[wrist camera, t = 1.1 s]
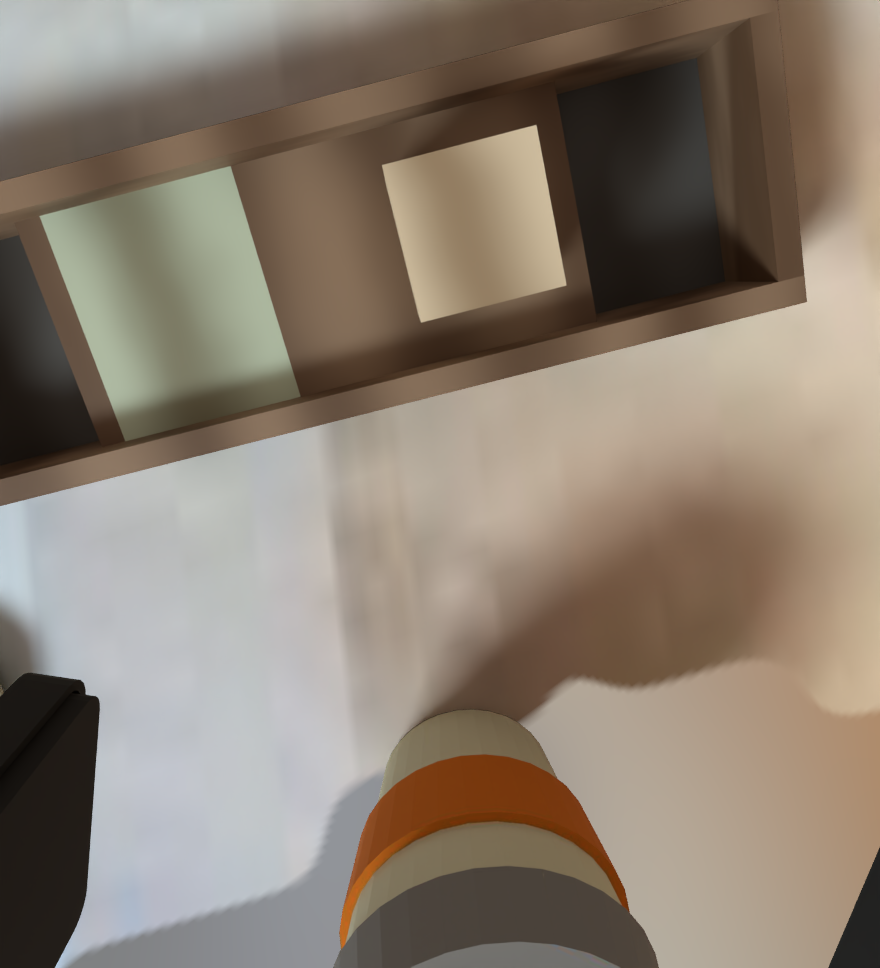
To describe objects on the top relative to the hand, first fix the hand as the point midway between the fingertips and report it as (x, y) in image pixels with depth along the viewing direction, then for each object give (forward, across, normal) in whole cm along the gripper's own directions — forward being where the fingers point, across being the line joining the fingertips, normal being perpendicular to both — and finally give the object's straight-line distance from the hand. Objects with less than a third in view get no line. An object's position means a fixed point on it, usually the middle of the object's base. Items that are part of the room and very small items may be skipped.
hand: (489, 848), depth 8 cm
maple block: (+23, 0, -8) cm, 24 cm away
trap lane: (+26, +6, -6) cm, 27 cm away
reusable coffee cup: (+26, -5, +19) cm, 33 cm away
